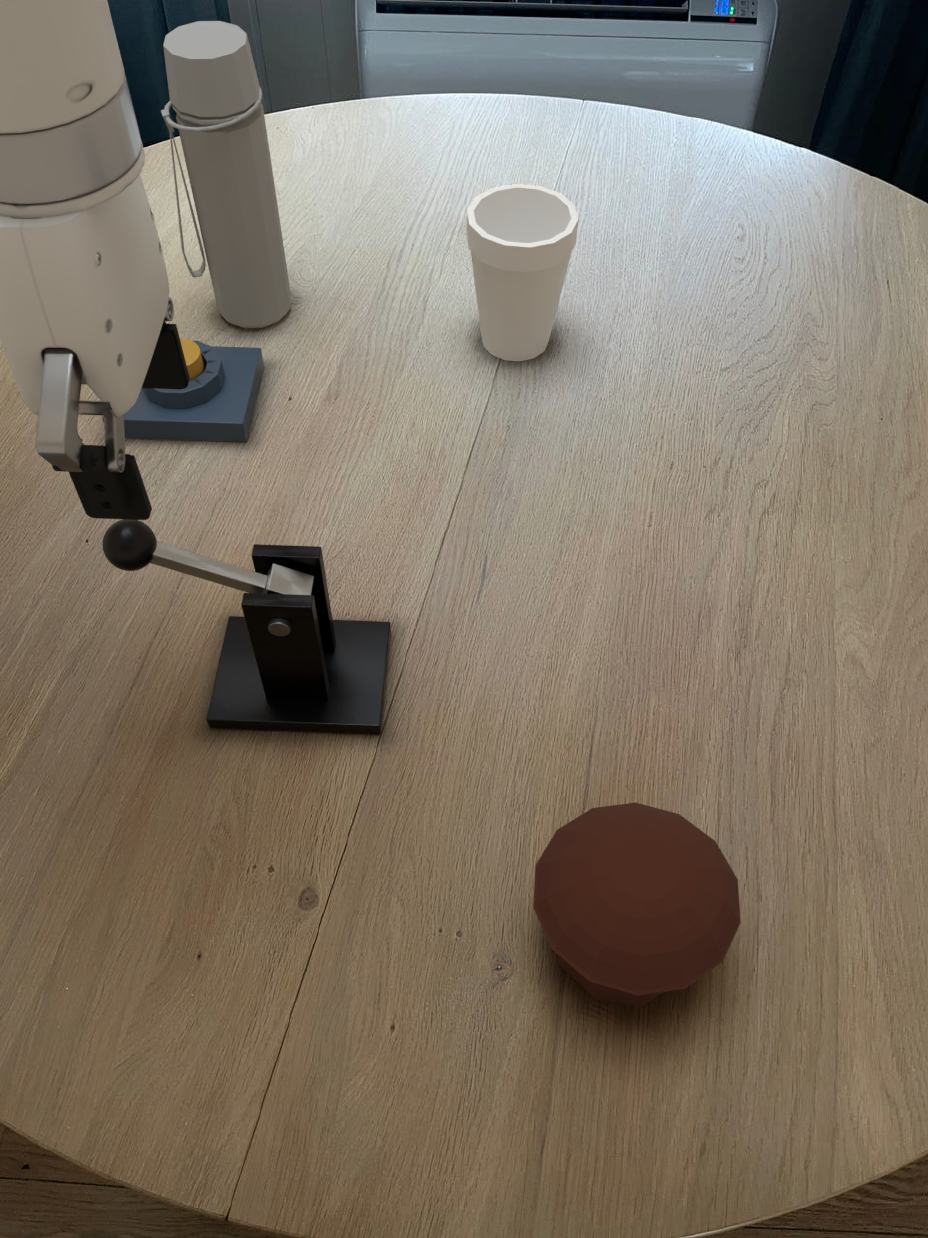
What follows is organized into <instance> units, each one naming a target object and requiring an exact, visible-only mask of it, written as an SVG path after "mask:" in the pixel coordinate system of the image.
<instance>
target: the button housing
mask: <svg viewBox="0 0 928 1238" xmlns="http://www.w3.org/2000/svg"><path fill="white" fill-rule="evenodd" d="M192 341H193V342H195V343H196V344H197V345H198V346H199V348H200V351H201V355H202V360H203V364H204V369H203V372H202V374H201V375H200V376H198V377H197V378H196V379H195V380H192V381H189V384H188V386H187V388H185V389H154V388H141V391H140V393H139V396H138V398H137V400H136V402H135V404H134V405H133V406H132V407H131V408H130V409H129V411H128V412H126V413H125V414H124V430H125V439H139V440H140V439H141V440H167V441H168V440H169V441H172V440H173V441H198V442H199V441H201V442H230V443H247V442H248V439H249V435H250V430H251V426H252V421H253V417H254V414H255V413H254V412H255V408H256V404H257V400H258V395H259V391H260V387H261V384H262V383H261V382H262V380H263V379H262V378H263V375H264V369H265V363H264V357H263V351H262V348H261V347H245V346H217V345H216V346H213V345H209V344H206V343H204V342H202V341H201V340H192ZM104 416H105V415H102V421H103V423H104Z"/></svg>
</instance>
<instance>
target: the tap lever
mask: <svg viewBox="0 0 928 1238" xmlns="http://www.w3.org/2000/svg"><path fill="white" fill-rule="evenodd" d="M101 545H102V551H103V554H104V556H105V558H106V560H107V561H108V562H109V563H110V564H111V565H112V566H114V568H117V569H119V570H122V571H125V572H126V571H127V572H135V571H140V570H142V569H144V568H146V567H147V566H148V565H150V564H152V565H154V566H155V565H156V566H158V567H162V568H165V569H168V570H172V571H175V572H178V573H181V574H185V575H188V576H192V577H195V578H198V579H201V580H205V581H208V582H211V583H215V584H217V585H222V586H224V587H228V588H231V589H235V590H237V591H242V592H244V593H263V594H291V595H311V592H312V585H313V579H314V576H312V575H309V574H306V573H303V572H300V571H297V570H293V569H290V568H287V567H284V566H281V565H277V564H274V563H273V564H272V566H271V568H270V570H269V571H268V573H267V575H264V574H261V573H258V572H255V570H251V569H248V568H244V567H241V566H238V565H235V564H232V563H228V562H226V561H222V560H218V559H216V558H212V557H209V556H205V555H202V554H199V553H196V552H193V551H190V550H186V549H183V548H180V547H177V546H173V545H171V544H167V543H164V542H162V541H158V540H157V537H156V534H155V532H154V531H153V530H152V528H151V527H150V526H149V525H148V524H146V523H145V522H143V521H142V520H127V519H119V520H117V521H115V522H114V523H112V524H111V525H110V526H109V527H108V528H107V529H106V530H105V533H104V534H103V538H102V544H101Z"/></svg>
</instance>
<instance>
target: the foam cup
mask: <svg viewBox="0 0 928 1238" xmlns="http://www.w3.org/2000/svg"><path fill="white" fill-rule="evenodd" d="M578 229H579V216H578V213H577V208H576V206H575V204H574V203H573V202H572V201H570V200H569V199H568V197H567V198H566V196H564V195H563V194H562V193H561V192H559V191H556V190H552V189H550V188H548V187H544V186H541V185H536V184H535V185H534V184H524V183H523V184H522V183H512V184H506V185H501V186H495V187H491V188H489V189H487V190H485V191H484V192H482V193H479V194H478V195H476V196H475V197H474V198H473V199H472V201H471V203H470V204H469V206H468V207H467V208H466V241H467V245H468V246H467V247H468V250H469V251H470V257H471V263H472V274H473V280H474V290H475V296H476V304H477V314H478V320H479V328H480V335H481V341H482V347H483V348H484V349H485V351H487V352H488V353H489V354H490V355H491V356H493V357H496V358H498V359H500V360H503V361H508V362H509V361H510V362H523V361H529V360H533V359H536V358H537V357H538V356H540V355H542V354H543V353H544V352H545V351H546V348H547V346H548V345H549V340H550V338H551V335H552V331H553V328H554V327H553V326H554V322H555V319H556V315H557V311H558V306H559V303H560V299H561V296H562V290H563V288H564V283H565V279H566V274H567V271H568V268H569V263H570V259H571V255H572V252H573V251H574V249H575V246H576V244H577V237H578Z"/></svg>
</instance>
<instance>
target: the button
mask: <svg viewBox="0 0 928 1238" xmlns="http://www.w3.org/2000/svg"><path fill="white" fill-rule="evenodd" d="M180 341H181V345H182V349H183V353H184V357H185V361H186V365H187V369H188V373H189V377H190V380H189V381H192V380H195V379H196V378H197V377H198V376H200V375H201V374H202V372H203V369H204V364H203V360H202V355H201V351H200V348H199V346H198V345H197V344H196V343H195V342H193V341H194V340H191V339H189V338H188V339H187V338H182V337H181V338H180Z"/></svg>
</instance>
